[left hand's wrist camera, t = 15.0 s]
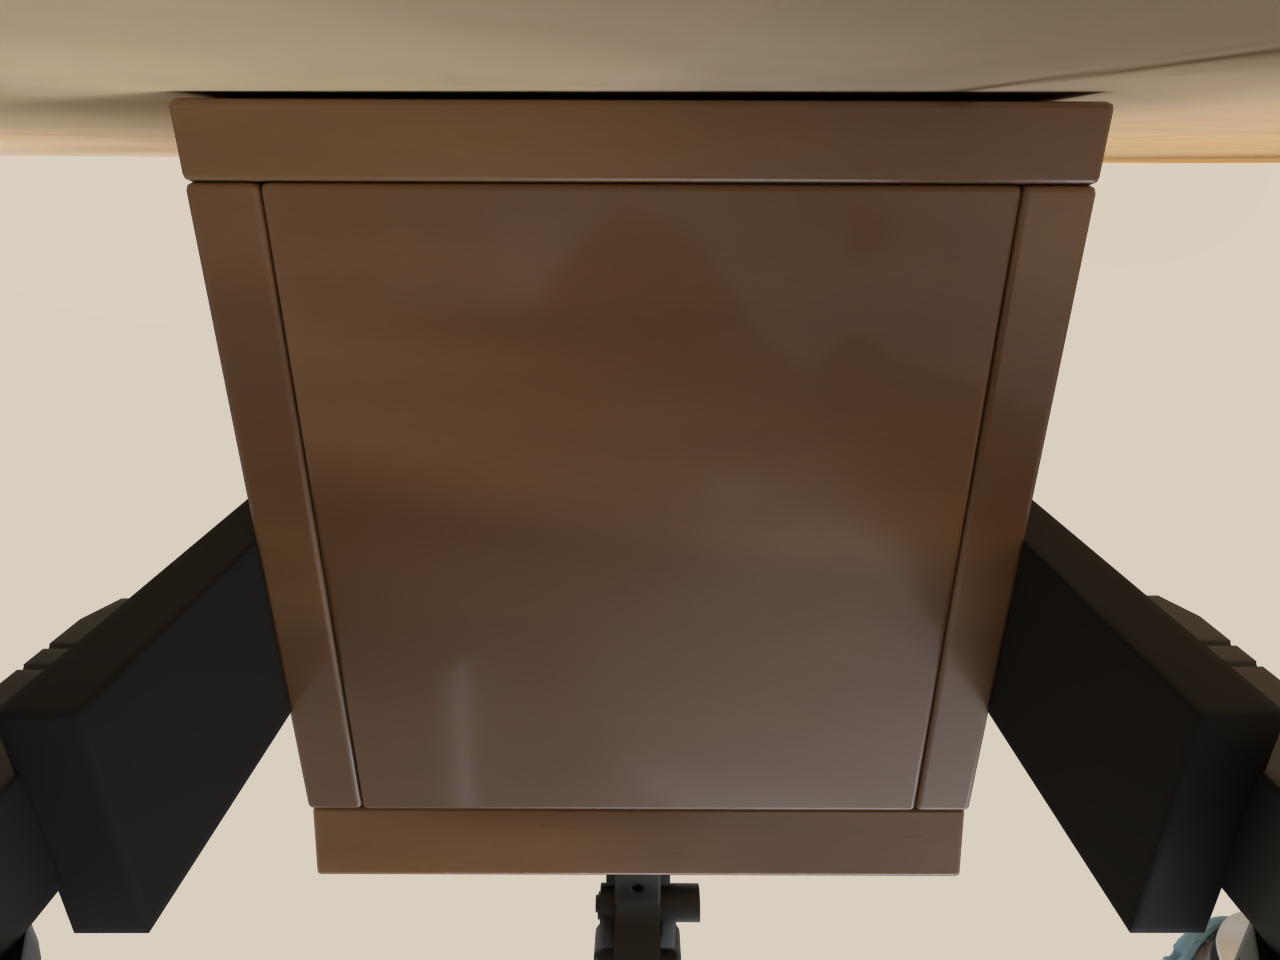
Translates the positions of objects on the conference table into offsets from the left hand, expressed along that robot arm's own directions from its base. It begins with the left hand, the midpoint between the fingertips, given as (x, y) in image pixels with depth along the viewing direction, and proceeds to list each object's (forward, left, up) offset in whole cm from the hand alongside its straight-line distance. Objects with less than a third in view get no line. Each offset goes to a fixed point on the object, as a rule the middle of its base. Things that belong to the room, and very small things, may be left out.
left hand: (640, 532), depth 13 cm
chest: (+4, -3, -7) cm, 8 cm away
